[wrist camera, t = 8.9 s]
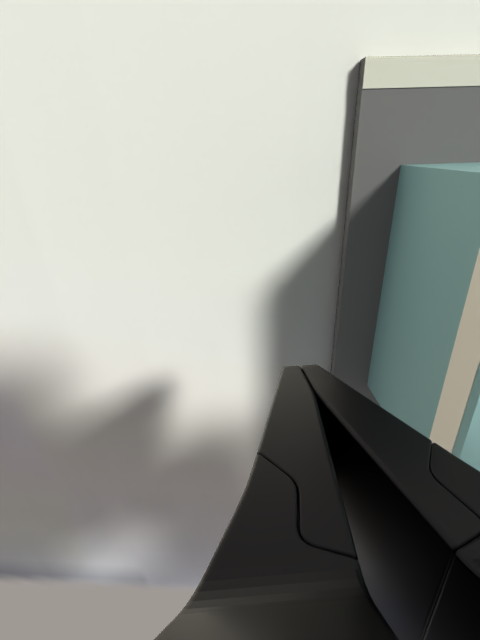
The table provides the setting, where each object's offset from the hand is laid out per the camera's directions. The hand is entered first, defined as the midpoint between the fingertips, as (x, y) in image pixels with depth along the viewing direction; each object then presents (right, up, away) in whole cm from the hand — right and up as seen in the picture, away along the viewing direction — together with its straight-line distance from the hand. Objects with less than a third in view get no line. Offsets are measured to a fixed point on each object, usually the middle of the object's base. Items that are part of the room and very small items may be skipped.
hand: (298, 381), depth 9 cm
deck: (+6, +3, +5) cm, 8 cm away
